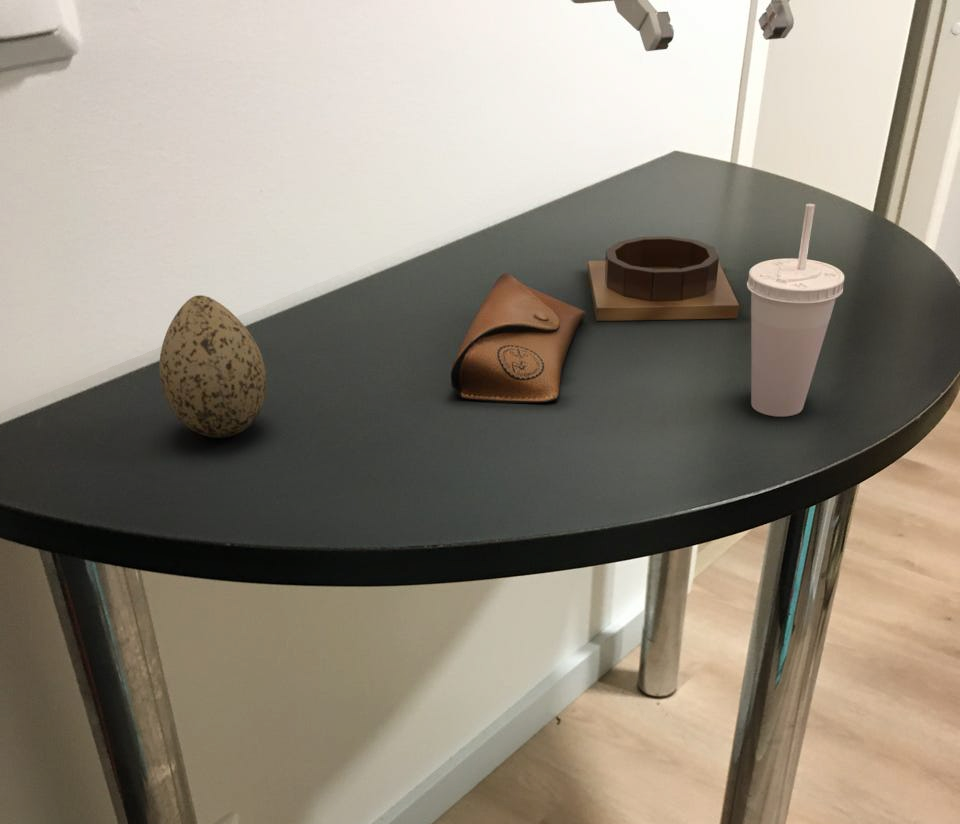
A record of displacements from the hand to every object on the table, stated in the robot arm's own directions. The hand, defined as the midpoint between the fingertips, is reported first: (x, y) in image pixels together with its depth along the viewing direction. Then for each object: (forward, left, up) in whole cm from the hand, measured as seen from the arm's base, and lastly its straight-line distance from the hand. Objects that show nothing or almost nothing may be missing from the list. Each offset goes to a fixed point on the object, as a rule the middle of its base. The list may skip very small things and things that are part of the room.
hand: (721, 39), depth 77 cm
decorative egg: (+35, +15, -22) cm, 44 cm away
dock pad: (+1, -11, -22) cm, 25 cm away
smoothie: (-5, +12, -22) cm, 26 cm away
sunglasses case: (+14, +2, -22) cm, 26 cm away
